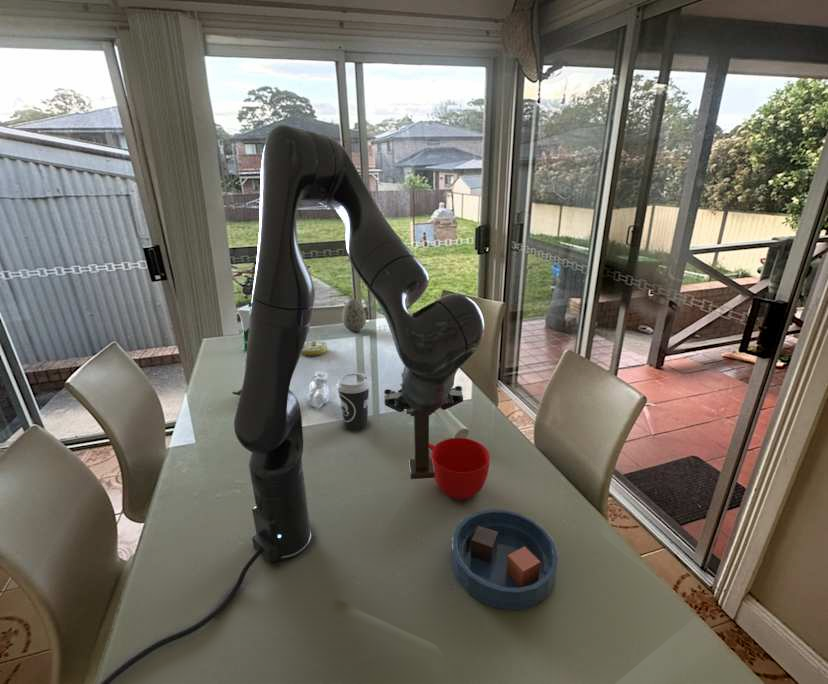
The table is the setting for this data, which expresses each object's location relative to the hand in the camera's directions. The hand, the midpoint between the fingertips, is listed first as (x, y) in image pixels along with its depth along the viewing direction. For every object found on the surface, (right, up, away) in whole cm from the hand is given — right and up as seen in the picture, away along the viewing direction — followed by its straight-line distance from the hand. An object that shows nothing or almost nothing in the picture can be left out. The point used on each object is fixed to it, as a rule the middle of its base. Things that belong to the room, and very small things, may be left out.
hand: (420, 410), depth 81 cm
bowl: (+15, -29, 0) cm, 33 cm away
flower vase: (+4, -9, +52) cm, 53 cm away
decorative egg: (-28, +18, +122) cm, 126 cm away
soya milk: (-66, +10, +101) cm, 122 cm away
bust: (-31, -7, +59) cm, 67 cm away
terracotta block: (+18, -29, -2) cm, 35 cm away
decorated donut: (-42, +8, +98) cm, 107 cm away
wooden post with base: (0, -12, +2) cm, 12 cm away
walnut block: (+12, -27, +3) cm, 30 cm away
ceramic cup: (+8, -21, +21) cm, 31 cm away
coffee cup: (-18, -12, +46) cm, 51 cm away
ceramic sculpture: (-51, -6, +62) cm, 80 cm away
